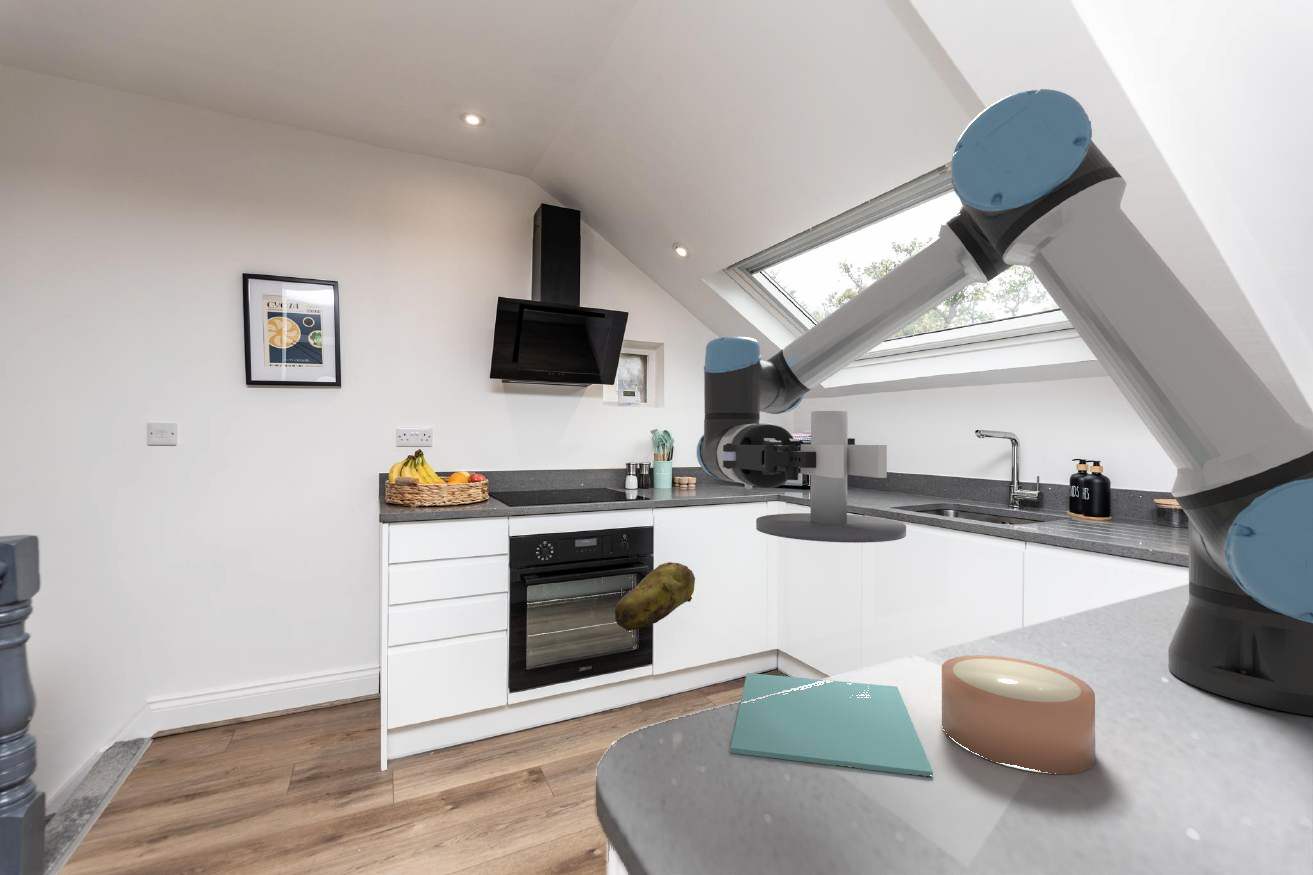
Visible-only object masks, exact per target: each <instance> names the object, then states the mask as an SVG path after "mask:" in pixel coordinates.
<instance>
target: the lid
mask: <svg viewBox="0 0 1313 875" xmlns="http://www.w3.org/2000/svg"><path fill="white" fill-rule="evenodd" d="M848 414H849V413H848V411H847V410H818V411H811V412H810V441H811V444H817V445H844V478H832V477H823V476H815V475H810V513H809V512H808V513H807V512H801V513H800V512H798V513H797V512H796V513H795V512H793V513H777V514H768V515H762V516H759V517H757V518H756V520H755V522H756V523H755V524H756V525H755V527H756V531H758V532H760V533H762V534H765V535H770V536H775V537H780V538H784V539H785V538H786V539H793V540H798V541H799V540H801V541H811V542H826V543H847V544H849V543H855V544H856V543H857V544H858V543H862V544H863V543H865V544H866V543H883V542H884V543H885V542H893V541H898V540H901V539H902V540H903V539H905V537H907V525H906V524H905V523H903V522H900V521H896V520H892V519H887V518H881V517H876V516H875V517H874V516H866V515H855V514H854V515H853V514H848V475H847V444H848V437H849V436H848V434H849V432H848V426H849V424H848V421H849V420H848V418H849V416H848Z"/></svg>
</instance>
